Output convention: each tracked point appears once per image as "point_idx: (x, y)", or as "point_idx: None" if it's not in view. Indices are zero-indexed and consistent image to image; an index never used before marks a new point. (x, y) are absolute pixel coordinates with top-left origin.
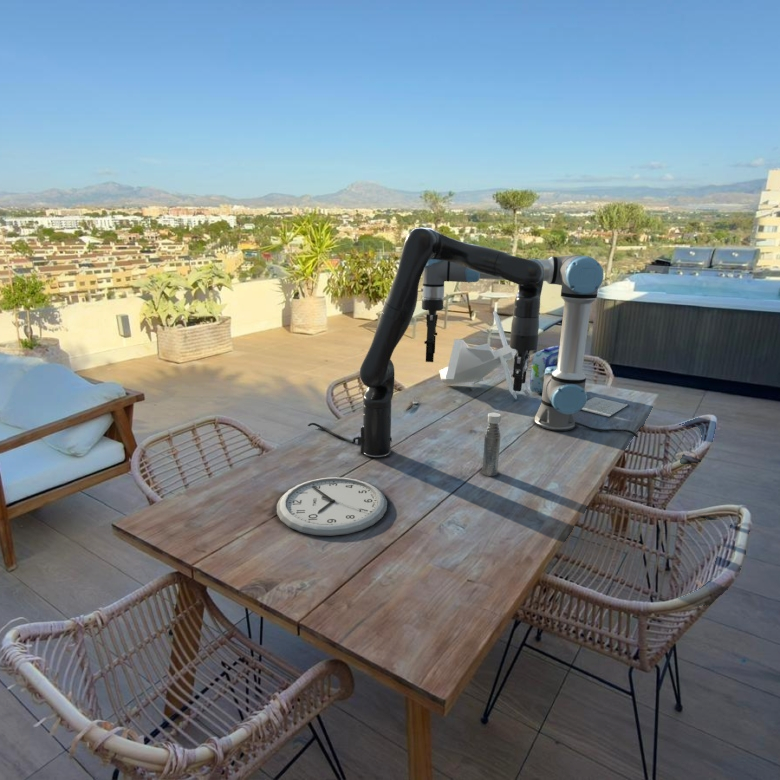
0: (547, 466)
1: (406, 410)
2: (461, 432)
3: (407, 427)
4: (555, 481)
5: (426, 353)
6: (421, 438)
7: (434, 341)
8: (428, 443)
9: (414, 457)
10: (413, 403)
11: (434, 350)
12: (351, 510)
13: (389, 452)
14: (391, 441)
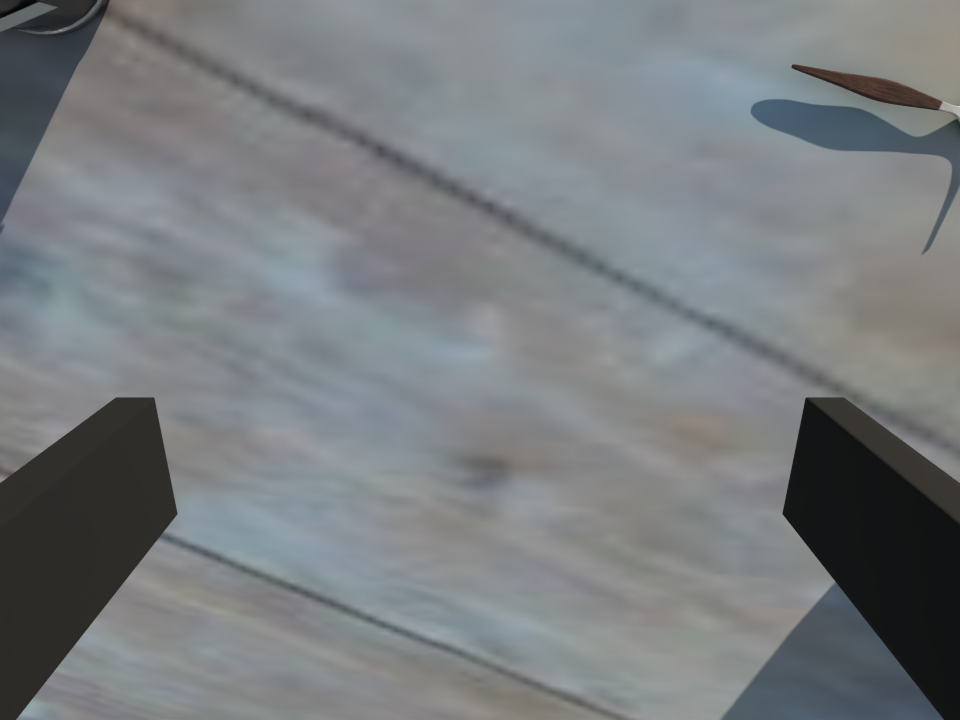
0: (172, 708)
1: (793, 67)
2: (463, 419)
3: (491, 104)
4: (52, 714)
5: (8, 489)
6: (329, 208)
7: (927, 680)
8: (266, 252)
9: (54, 187)
10: (948, 109)
11: (807, 540)
12: None
13: (19, 29)
14: (3, 29)
